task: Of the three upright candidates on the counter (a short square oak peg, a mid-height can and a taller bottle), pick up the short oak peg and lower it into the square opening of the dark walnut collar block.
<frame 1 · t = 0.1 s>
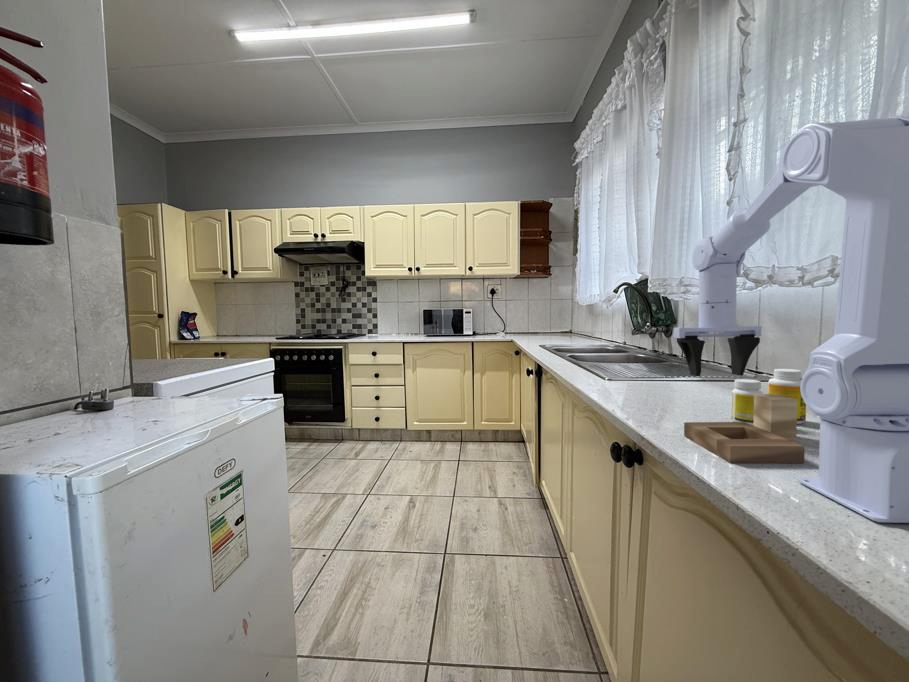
hand: (716, 375, 68), 10 cm above the countertop, tool pointing down, fingers open, 7 cm apart
collar block: (737, 448, 57), on the countertop
oak peg: (774, 436, 62), on the countertop
supplement bottle 2: (786, 422, 71), on the countertop
supplement bottle: (746, 423, 70), on the countertop
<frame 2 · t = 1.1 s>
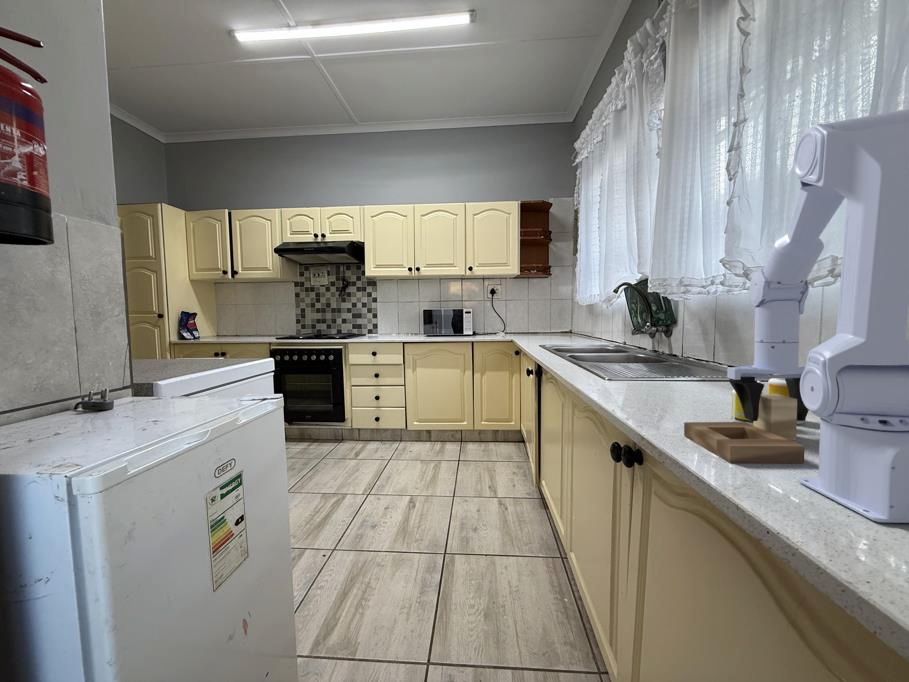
hand: (774, 419, 62), 3 cm above the countertop, tool pointing down, fingers open, 7 cm apart
nothing on the countertop moved.
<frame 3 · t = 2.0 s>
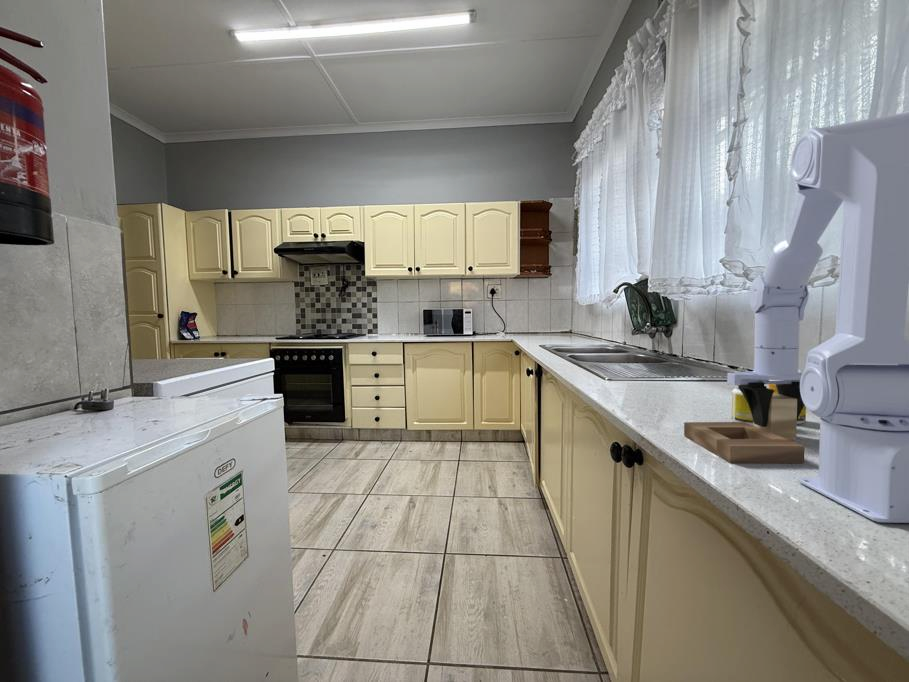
hand: (774, 425, 62), 2 cm above the countertop, tool pointing down, fingers closed on oak peg, 4 cm apart
oak peg: (773, 435, 62), on the countertop, touching gripper
everything else where it was.
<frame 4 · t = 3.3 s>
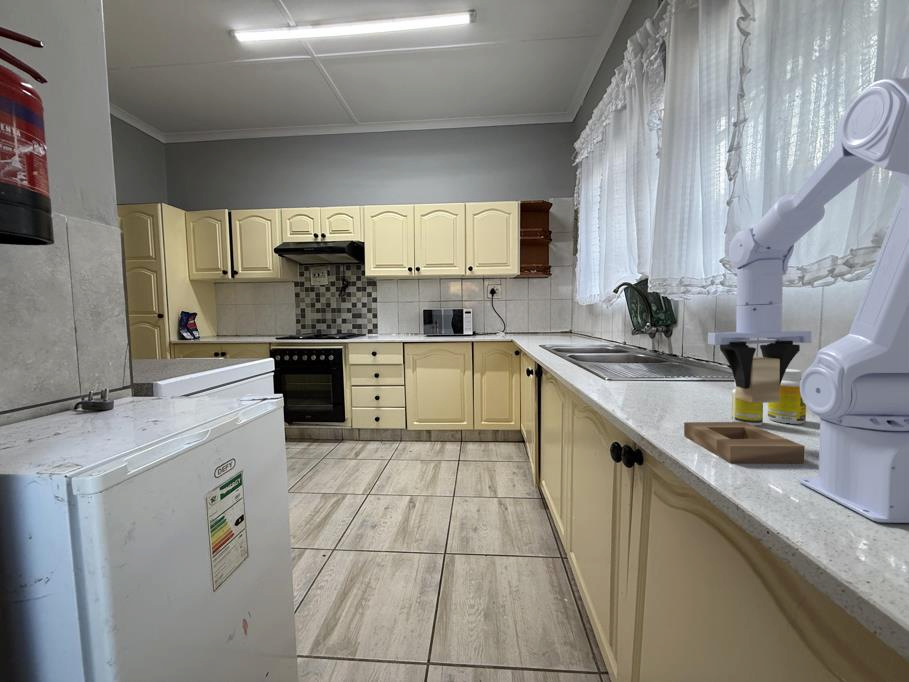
hand: (757, 387, 59), 9 cm above the countertop, tool pointing down, fingers closed on oak peg, 4 cm apart
oak peg: (756, 399, 59), point 7 cm above the countertop, touching gripper
everything else where it was.
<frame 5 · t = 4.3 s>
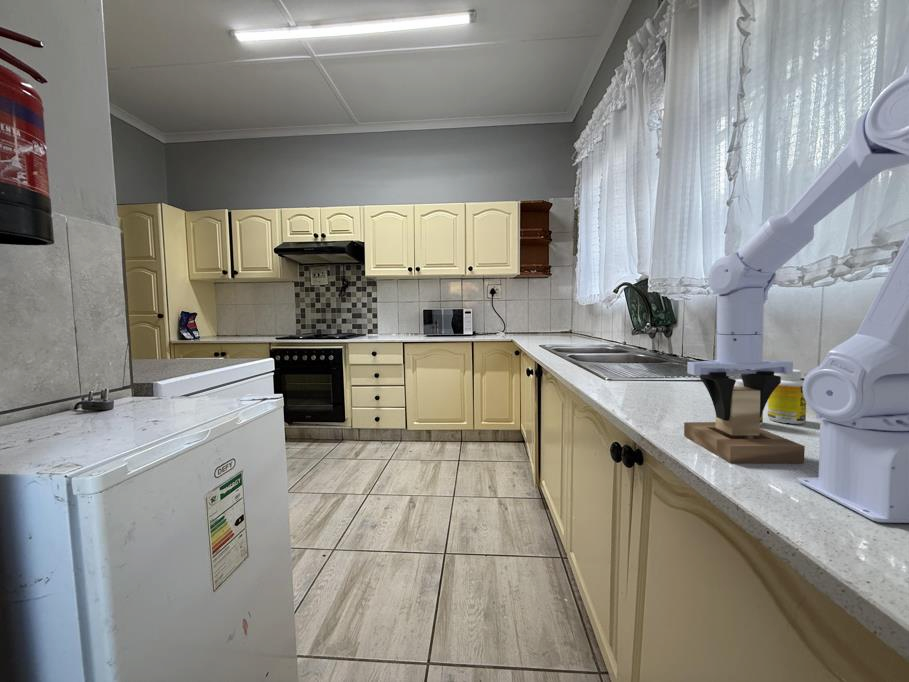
hand: (737, 418, 57), 5 cm above the countertop, tool pointing down, fingers closed on oak peg, 4 cm apart
oak peg: (736, 431, 57), point 3 cm above the countertop, touching gripper
everything else where it was.
when the fingers open (3 cm above the countertop, at t = 5.1 s): oak peg stays where it is, resting in collar block.
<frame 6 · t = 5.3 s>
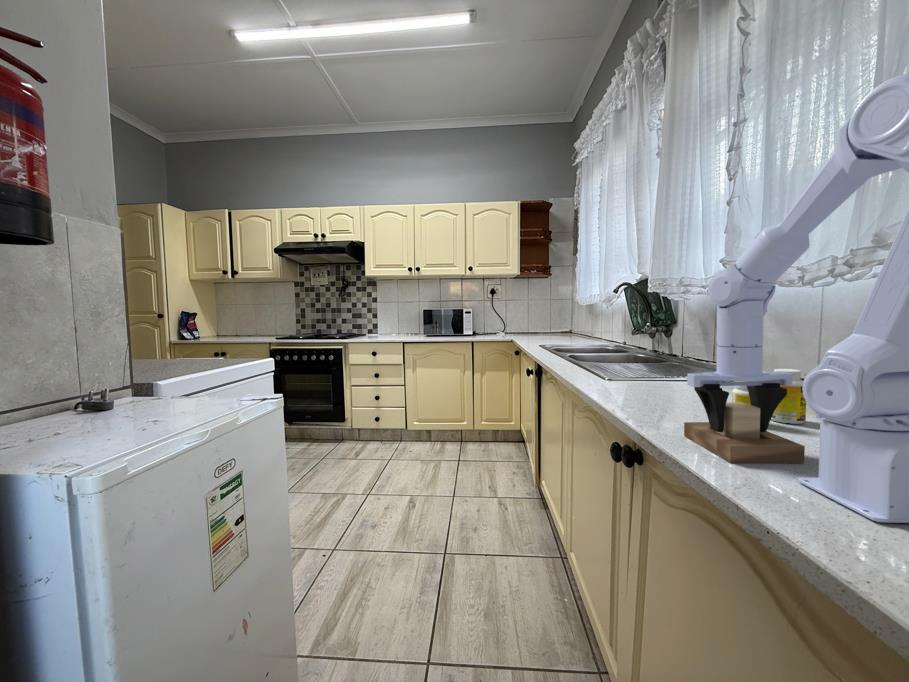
hand: (737, 430, 57), 3 cm above the countertop, tool pointing down, fingers open, 6 cm apart
oak peg: (736, 447, 58), resting in collar block
everything else where it was.
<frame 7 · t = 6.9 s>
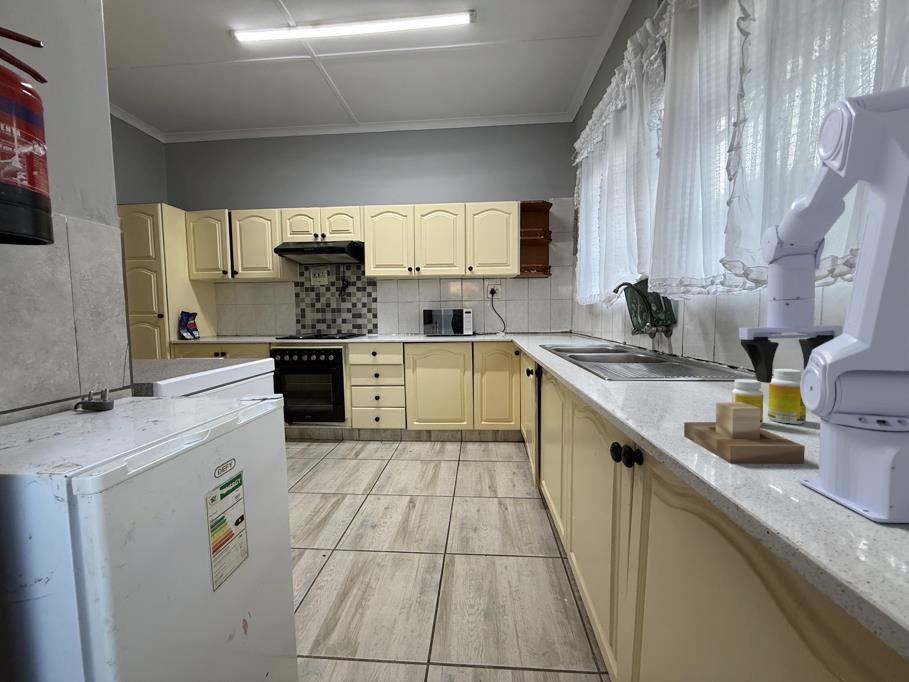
hand: (788, 381, 60), 10 cm above the countertop, tool pointing down, fingers open, 7 cm apart
nothing on the countertop moved.
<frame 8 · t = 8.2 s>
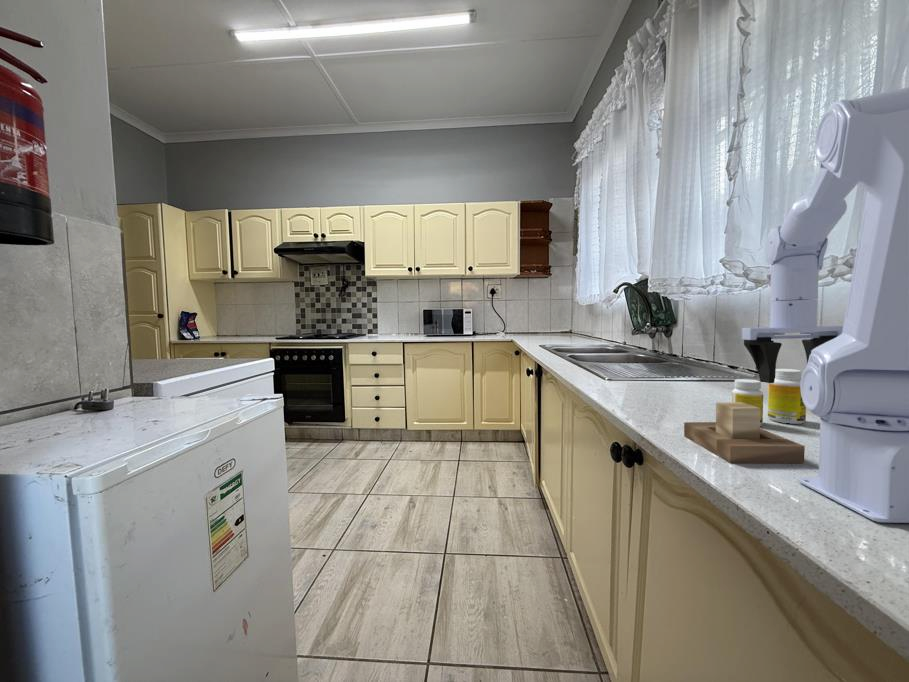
hand: (791, 381, 60), 10 cm above the countertop, tool pointing down, fingers open, 7 cm apart
nothing on the countertop moved.
at the end: oak peg 0.2 cm off-centre on the collar block, point 0.0 cm above the collar block's base; oak peg tilted 0°; the gripper is holding nothing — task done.
